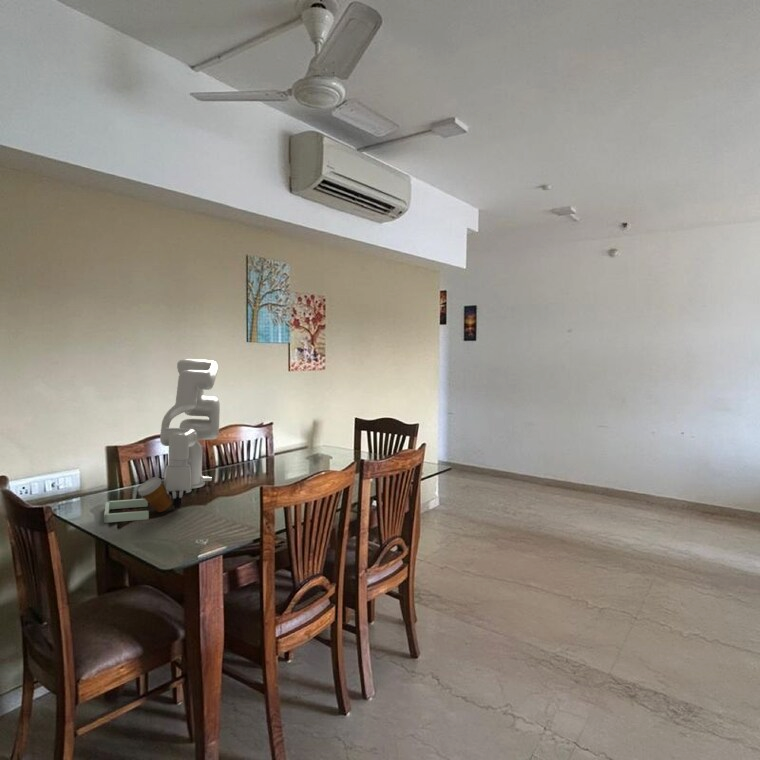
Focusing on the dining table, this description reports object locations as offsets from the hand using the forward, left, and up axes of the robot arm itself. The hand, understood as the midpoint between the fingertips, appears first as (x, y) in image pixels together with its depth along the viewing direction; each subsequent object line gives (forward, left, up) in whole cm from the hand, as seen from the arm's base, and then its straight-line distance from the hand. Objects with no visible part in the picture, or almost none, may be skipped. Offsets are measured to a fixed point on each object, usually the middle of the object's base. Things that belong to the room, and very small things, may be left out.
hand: (177, 506), depth 212 cm
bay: (+18, 0, -1) cm, 18 cm away
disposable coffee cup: (+5, 0, 0) cm, 5 cm away
